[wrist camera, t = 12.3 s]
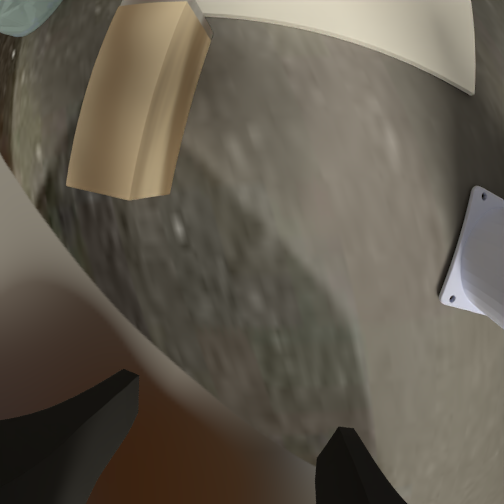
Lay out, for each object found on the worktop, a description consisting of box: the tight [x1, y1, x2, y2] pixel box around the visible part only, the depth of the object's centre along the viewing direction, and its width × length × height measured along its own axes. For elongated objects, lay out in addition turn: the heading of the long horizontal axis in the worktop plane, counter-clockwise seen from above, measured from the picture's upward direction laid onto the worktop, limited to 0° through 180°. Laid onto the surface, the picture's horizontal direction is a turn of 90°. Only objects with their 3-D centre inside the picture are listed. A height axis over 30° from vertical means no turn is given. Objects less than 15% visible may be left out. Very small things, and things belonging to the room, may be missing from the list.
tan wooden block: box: [66, 0, 213, 200], centre depth 13 cm, size 4×11×5 cm, turn 166°
